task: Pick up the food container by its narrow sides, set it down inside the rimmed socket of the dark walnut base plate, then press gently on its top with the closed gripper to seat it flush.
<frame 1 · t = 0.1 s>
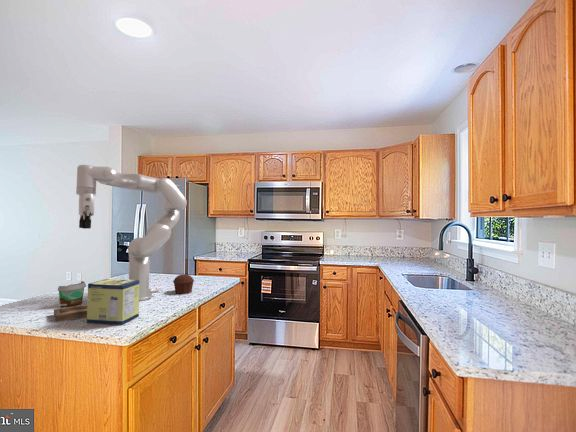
hand: (84, 228, 132), 37 cm above the countertop, tool pointing down, fingers open, 9 cm apart
base plate: (80, 314, 121), on the countertop
muffin: (183, 292, 162), on the countertop
food container: (75, 305, 134), on the countertop
protein box: (113, 320, 115), on the countertop
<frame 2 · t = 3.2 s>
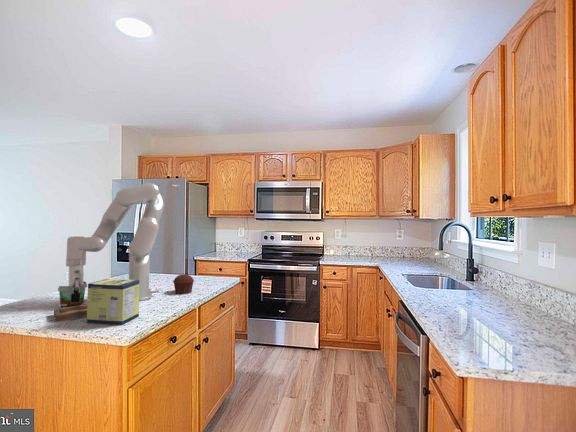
hand: (74, 299, 134), 2 cm above the countertop, tool pointing down, fingers closed on food container, 6 cm apart
food container: (75, 305, 134), on the countertop, touching gripper
everything else where it was.
when the fingers open (4 cm above the countertop, at t = 9.5 s): food container drops 1 cm, resting on base plate.
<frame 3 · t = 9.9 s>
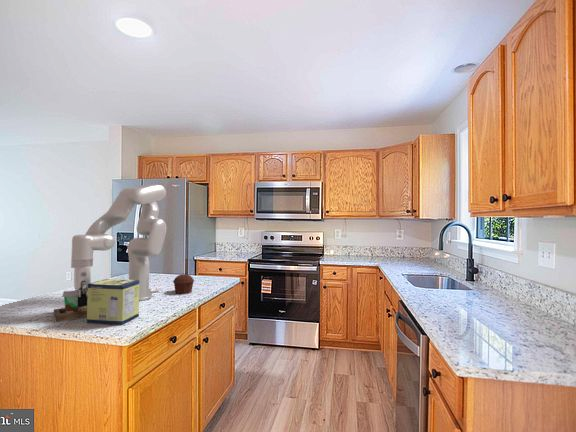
hand: (80, 303, 121), 5 cm above the countertop, tool pointing down, fingers open, 9 cm apart
food container: (82, 312, 120), point 1 cm above the countertop, touching base plate, gripper
everything else where it was.
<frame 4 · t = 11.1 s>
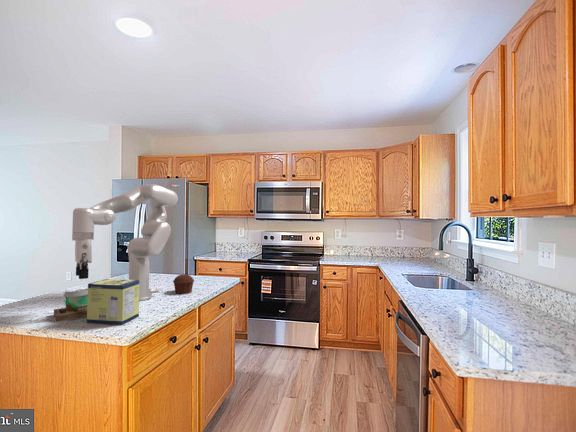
hand: (81, 276, 122), 16 cm above the countertop, tool pointing down, fingers open, 8 cm apart
food container: (83, 313, 120), point 1 cm above the countertop, touching base plate
everything else where it was.
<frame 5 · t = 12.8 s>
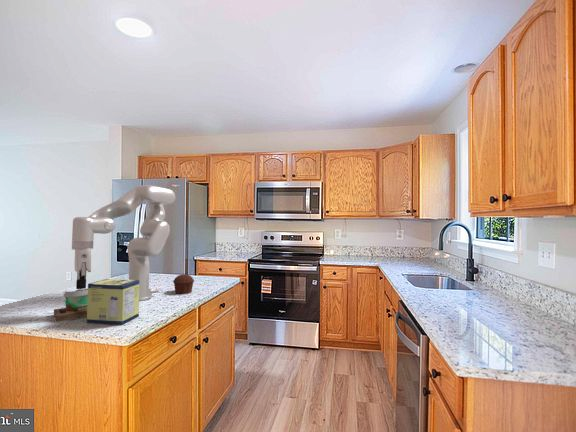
hand: (81, 288, 121), 11 cm above the countertop, tool pointing down, fingers closed
food container: (83, 313, 120), point 1 cm above the countertop, touching base plate, gripper
everything else where it was.
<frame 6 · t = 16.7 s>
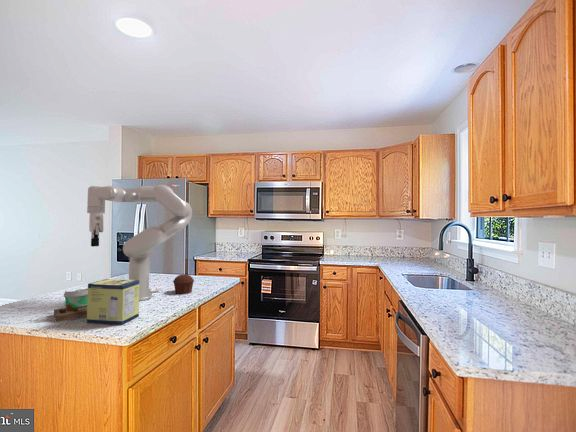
hand: (94, 246, 145), 27 cm above the countertop, tool pointing down, fingers closed
food container: (83, 313, 120), point 1 cm above the countertop, touching base plate
everything else where it was.
at the end: food container 1.8 cm off-centre on the base plate, point 0.8 cm above the base plate's base; food container tilted 0°; the gripper is holding nothing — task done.
